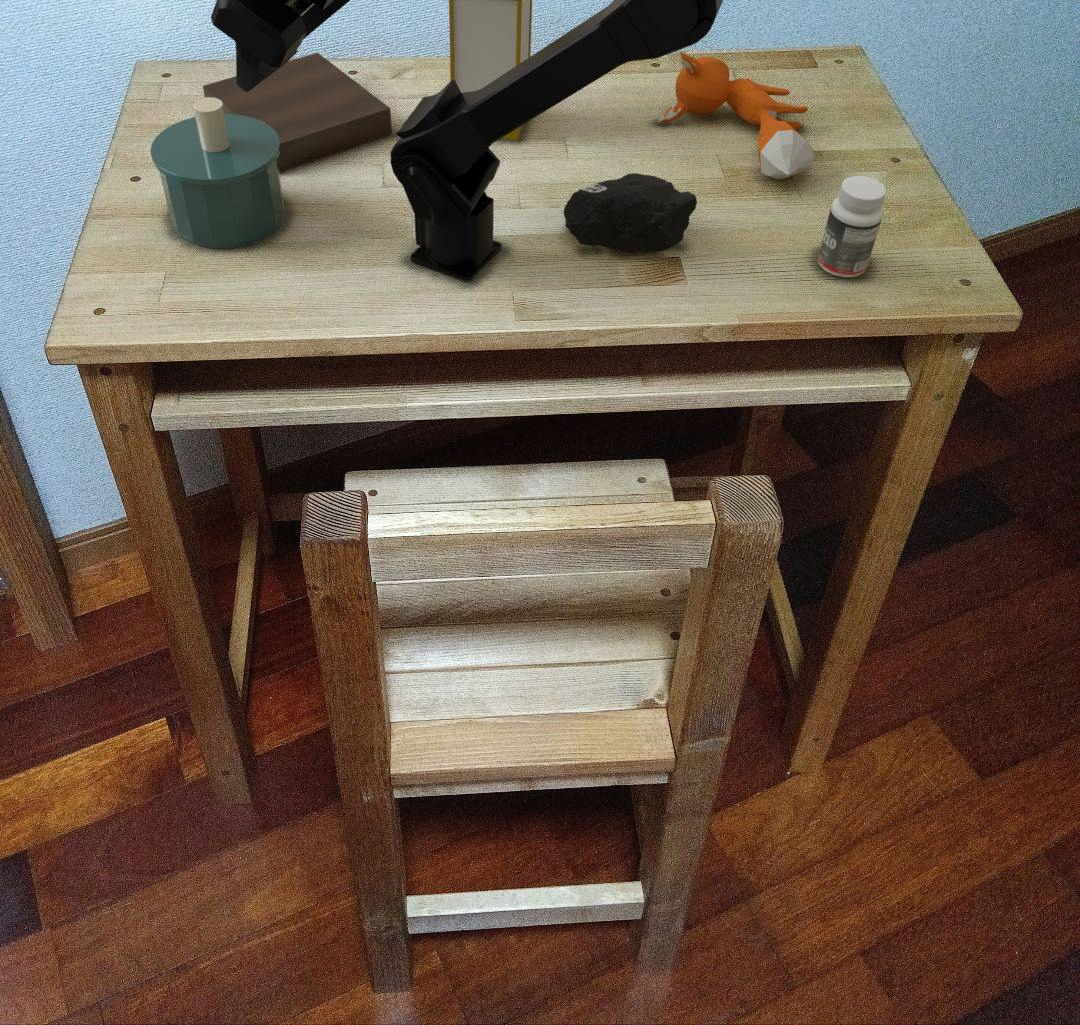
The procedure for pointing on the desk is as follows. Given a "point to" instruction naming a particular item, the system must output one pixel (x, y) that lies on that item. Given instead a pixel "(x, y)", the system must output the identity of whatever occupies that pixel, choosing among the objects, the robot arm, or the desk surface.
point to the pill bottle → (852, 227)
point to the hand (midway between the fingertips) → (268, 63)
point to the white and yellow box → (488, 41)
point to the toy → (743, 112)
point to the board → (308, 109)
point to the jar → (226, 210)
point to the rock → (630, 214)
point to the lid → (215, 146)
